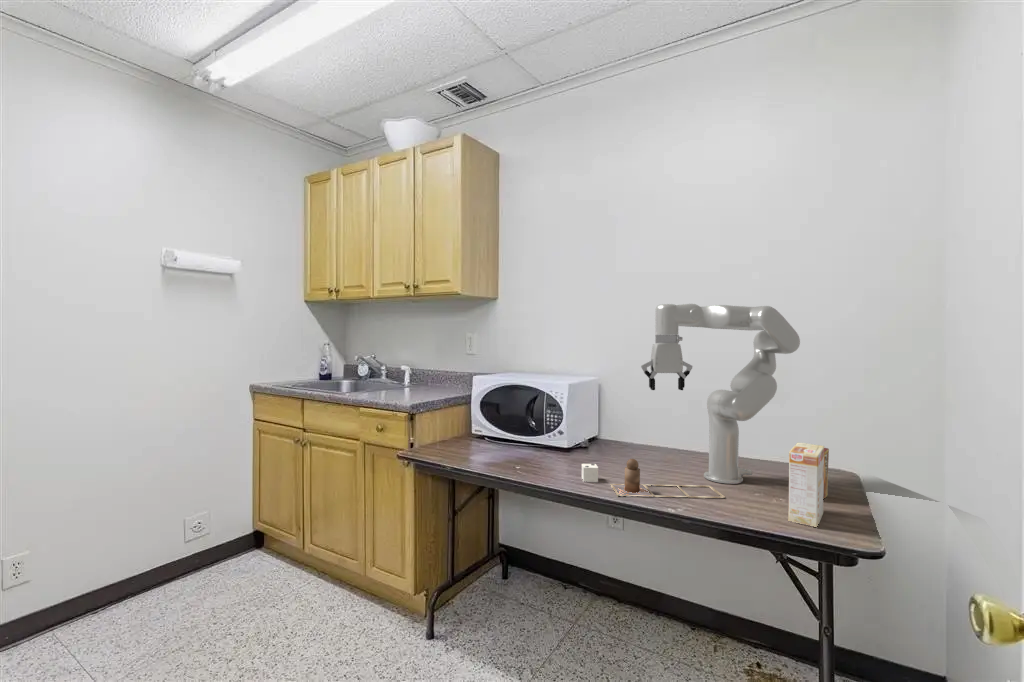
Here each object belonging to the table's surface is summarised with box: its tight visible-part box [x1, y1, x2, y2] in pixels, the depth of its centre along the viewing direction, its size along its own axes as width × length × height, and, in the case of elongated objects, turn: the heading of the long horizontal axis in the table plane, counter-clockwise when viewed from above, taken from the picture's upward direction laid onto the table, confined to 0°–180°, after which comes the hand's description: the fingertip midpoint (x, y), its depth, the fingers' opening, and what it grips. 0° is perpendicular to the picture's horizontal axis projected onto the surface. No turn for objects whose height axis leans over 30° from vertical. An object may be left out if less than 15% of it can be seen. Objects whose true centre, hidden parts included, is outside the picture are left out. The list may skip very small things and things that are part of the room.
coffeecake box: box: [787, 442, 825, 528], centre depth 131 cm, size 15×7×20 cm, turn 141°
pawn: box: [624, 458, 641, 493], centre depth 152 cm, size 5×5×10 cm
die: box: [581, 463, 599, 483], centre depth 163 cm, size 5×5×5 cm
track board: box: [609, 483, 727, 499], centre depth 152 cm, size 34×12×1 cm, turn 89°
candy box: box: [823, 447, 830, 500], centre depth 148 cm, size 9×4×15 cm, turn 137°
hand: (666, 389), depth 162 cm, fingers open, 9 cm apart
